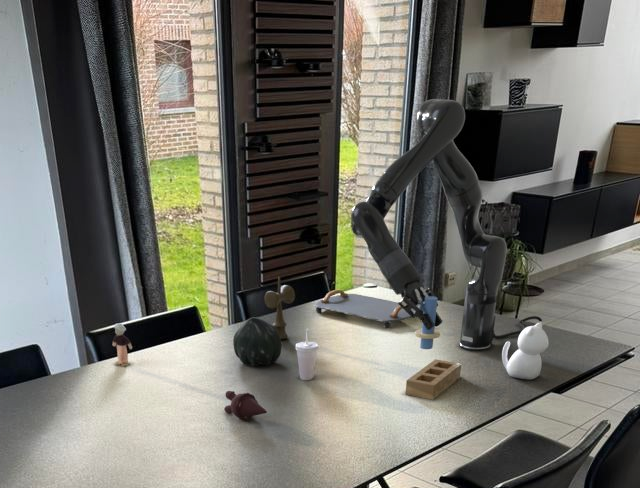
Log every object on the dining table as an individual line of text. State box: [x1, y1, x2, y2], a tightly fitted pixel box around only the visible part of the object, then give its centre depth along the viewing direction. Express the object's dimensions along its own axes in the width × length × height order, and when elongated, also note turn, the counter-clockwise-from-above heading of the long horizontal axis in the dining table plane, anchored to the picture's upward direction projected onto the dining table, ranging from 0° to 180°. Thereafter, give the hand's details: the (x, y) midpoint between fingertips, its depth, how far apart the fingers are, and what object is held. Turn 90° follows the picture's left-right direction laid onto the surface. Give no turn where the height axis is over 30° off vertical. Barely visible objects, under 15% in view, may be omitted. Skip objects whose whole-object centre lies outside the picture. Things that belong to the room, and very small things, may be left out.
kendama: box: [264, 276, 296, 341], centre depth 238 cm, size 6×10×20 cm, turn 141°
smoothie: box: [295, 328, 319, 381], centre depth 206 cm, size 6×6×14 cm
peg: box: [414, 296, 441, 350], centre depth 190 cm, size 6×6×13 cm
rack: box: [405, 358, 462, 401], centre depth 201 cm, size 20×8×4 cm, turn 146°
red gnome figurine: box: [223, 390, 268, 421], centre depth 184 cm, size 7×7×15 cm
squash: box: [232, 316, 283, 367], centre depth 219 cm, size 14×15×15 cm
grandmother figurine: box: [112, 323, 133, 367], centre depth 221 cm, size 8×4×13 cm, turn 68°
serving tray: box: [313, 289, 420, 329], centre depth 263 cm, size 39×23×6 cm, turn 45°
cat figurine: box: [501, 321, 550, 381], centre depth 203 cm, size 9×12×15 cm
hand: (435, 326), depth 189 cm, fingers closed on peg, 3 cm apart
